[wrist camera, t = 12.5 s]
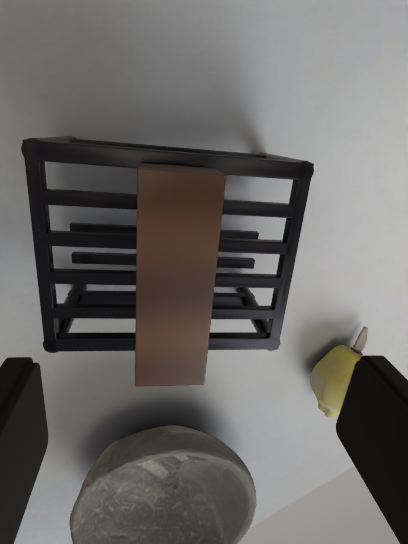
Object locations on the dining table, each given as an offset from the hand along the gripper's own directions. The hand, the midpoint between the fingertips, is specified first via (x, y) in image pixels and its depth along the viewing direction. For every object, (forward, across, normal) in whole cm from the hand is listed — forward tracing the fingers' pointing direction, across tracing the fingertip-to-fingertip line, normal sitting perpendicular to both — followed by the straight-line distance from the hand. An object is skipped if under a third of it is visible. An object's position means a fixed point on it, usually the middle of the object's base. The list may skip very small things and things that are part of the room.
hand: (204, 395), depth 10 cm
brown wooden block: (+12, 0, +1) cm, 12 cm away
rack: (+21, +1, +1) cm, 21 cm away
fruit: (+21, -18, +15) cm, 32 cm away
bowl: (+21, 0, +28) cm, 35 cm away
